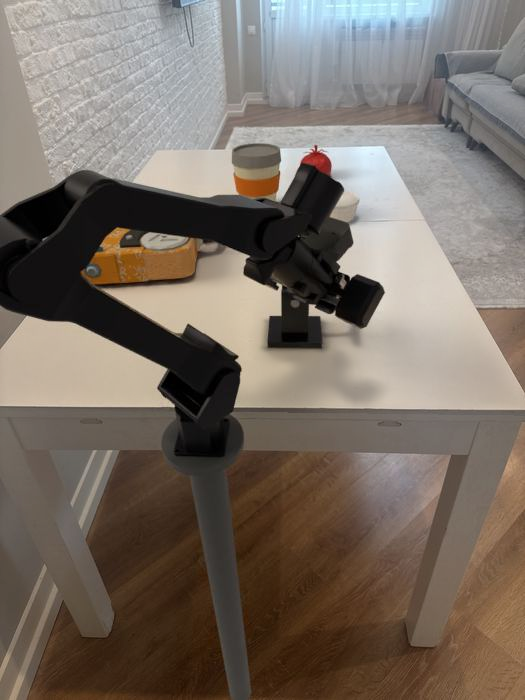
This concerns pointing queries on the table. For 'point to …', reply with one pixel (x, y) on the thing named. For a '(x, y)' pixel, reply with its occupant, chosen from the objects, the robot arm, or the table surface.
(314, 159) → the red tomato
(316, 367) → the table surface
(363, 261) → the table surface
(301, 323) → the bracket
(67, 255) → the robot arm
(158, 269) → the device
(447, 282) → the table surface
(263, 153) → the reusable coffee cup
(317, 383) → the table surface
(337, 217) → the ramekin
